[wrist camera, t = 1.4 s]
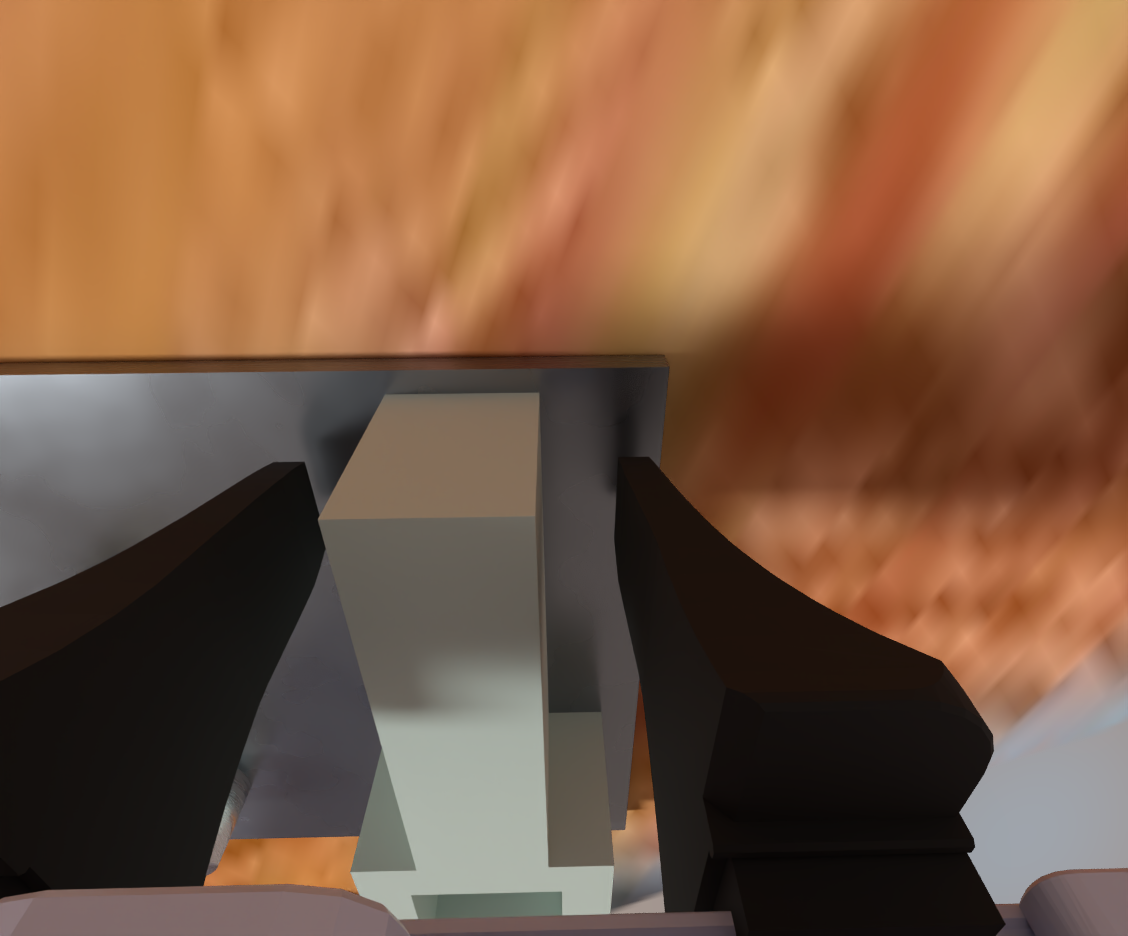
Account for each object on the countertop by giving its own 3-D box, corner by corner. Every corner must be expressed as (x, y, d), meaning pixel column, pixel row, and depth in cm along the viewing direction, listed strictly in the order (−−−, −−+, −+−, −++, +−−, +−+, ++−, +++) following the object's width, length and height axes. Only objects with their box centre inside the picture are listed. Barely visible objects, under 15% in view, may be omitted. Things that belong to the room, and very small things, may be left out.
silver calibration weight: (267, 782, 20) (216, 909, 17) (194, 784, 20) (128, 912, 17) (246, 738, 18) (186, 867, 15) (167, 740, 18) (91, 870, 15)
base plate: (623, 812, 21) (624, 829, 21) (-70, 827, 21) (-85, 846, 20) (664, 355, 12) (669, 367, 11) (-570, 370, 12) (-621, 382, 11)
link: (596, 822, 20) (605, 969, 17) (418, 827, 20) (391, 975, 17) (615, 391, 12) (643, 514, 8) (307, 395, 12) (208, 521, 8)
